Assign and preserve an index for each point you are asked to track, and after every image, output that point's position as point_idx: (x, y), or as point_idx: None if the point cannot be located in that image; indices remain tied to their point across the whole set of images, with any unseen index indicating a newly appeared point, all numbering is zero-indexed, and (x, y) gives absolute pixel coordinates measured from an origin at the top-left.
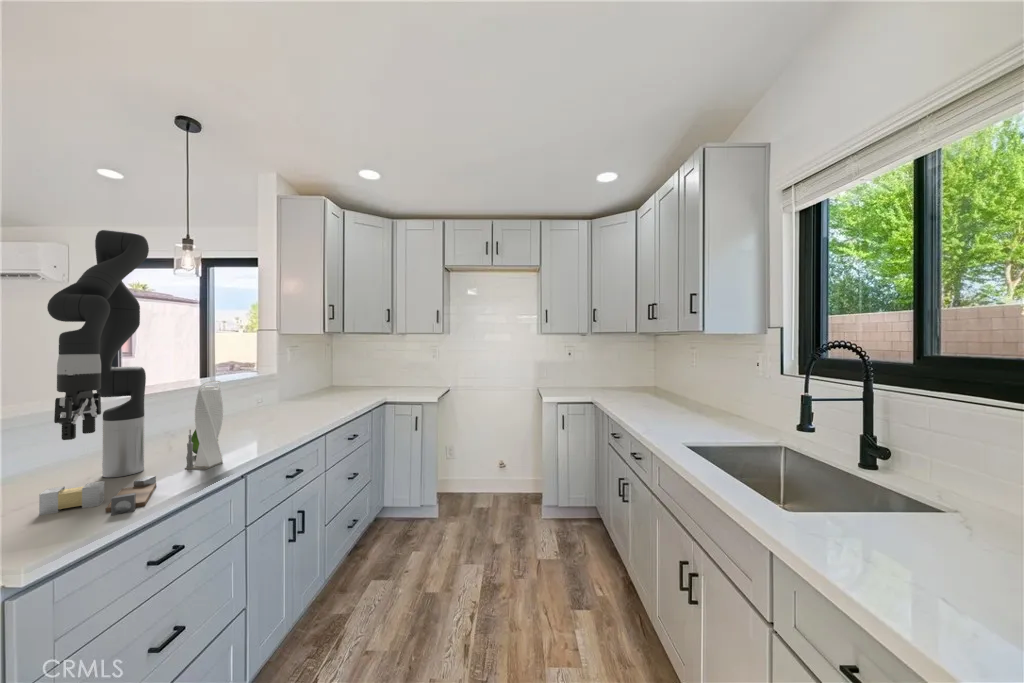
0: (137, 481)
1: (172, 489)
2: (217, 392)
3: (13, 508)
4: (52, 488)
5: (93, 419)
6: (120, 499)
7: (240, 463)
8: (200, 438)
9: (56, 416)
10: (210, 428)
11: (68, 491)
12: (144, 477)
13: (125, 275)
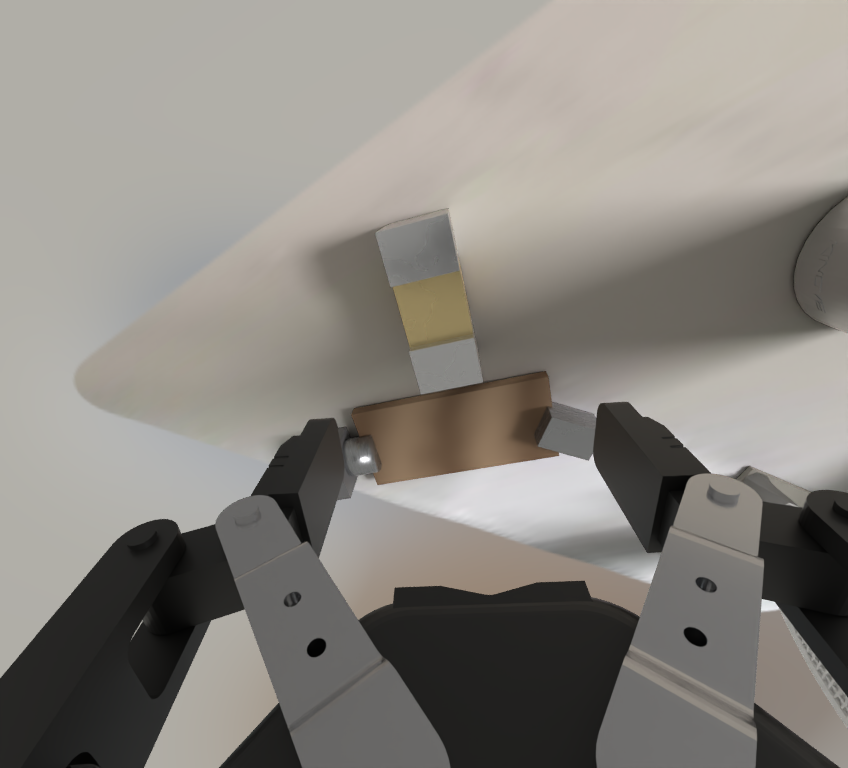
0: (545, 428)
1: (502, 495)
2: None
3: (510, 52)
4: (445, 236)
5: (647, 543)
6: None
7: None
8: None
9: (86, 600)
10: (843, 693)
11: (420, 301)
12: (587, 432)
13: None
